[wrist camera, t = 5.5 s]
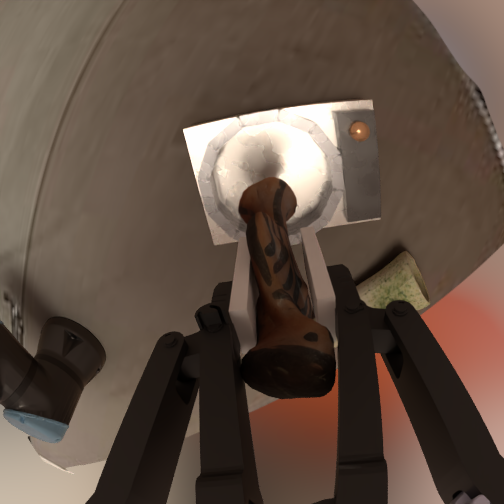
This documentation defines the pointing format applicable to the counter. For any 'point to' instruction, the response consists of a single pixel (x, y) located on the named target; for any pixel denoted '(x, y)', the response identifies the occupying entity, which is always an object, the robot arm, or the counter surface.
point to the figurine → (282, 303)
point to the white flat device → (290, 164)
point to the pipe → (395, 285)
